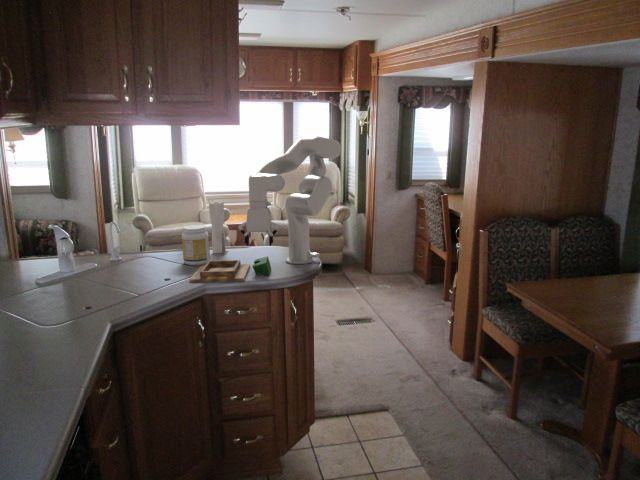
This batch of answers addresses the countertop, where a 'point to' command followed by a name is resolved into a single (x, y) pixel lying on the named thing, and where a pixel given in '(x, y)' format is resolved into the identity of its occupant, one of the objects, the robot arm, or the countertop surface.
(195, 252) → the supplement tub
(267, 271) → the clamp
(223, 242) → the skyscraper
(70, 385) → the countertop surface
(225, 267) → the brown shallow square tray
